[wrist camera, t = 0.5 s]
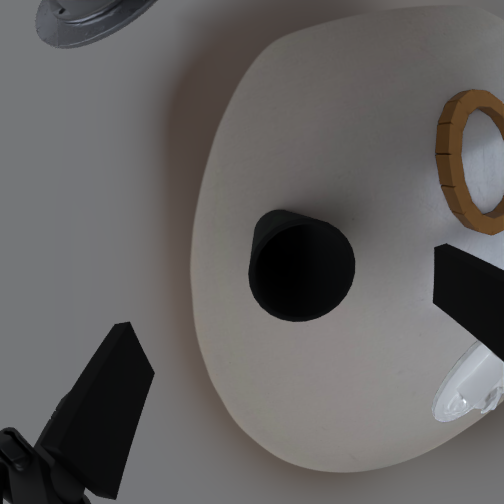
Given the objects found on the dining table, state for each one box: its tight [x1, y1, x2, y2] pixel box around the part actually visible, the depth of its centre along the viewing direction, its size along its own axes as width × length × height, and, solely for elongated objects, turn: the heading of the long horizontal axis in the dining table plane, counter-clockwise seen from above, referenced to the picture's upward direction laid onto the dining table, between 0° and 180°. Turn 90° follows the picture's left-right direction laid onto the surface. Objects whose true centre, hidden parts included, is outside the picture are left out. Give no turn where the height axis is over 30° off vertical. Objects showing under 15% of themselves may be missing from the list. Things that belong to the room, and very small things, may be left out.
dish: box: [432, 340, 504, 422], centre depth 36 cm, size 25×25×11 cm
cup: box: [248, 210, 355, 322], centre depth 25 cm, size 8×8×12 cm
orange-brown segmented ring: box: [435, 89, 504, 235], centre depth 28 cm, size 21×21×3 cm
